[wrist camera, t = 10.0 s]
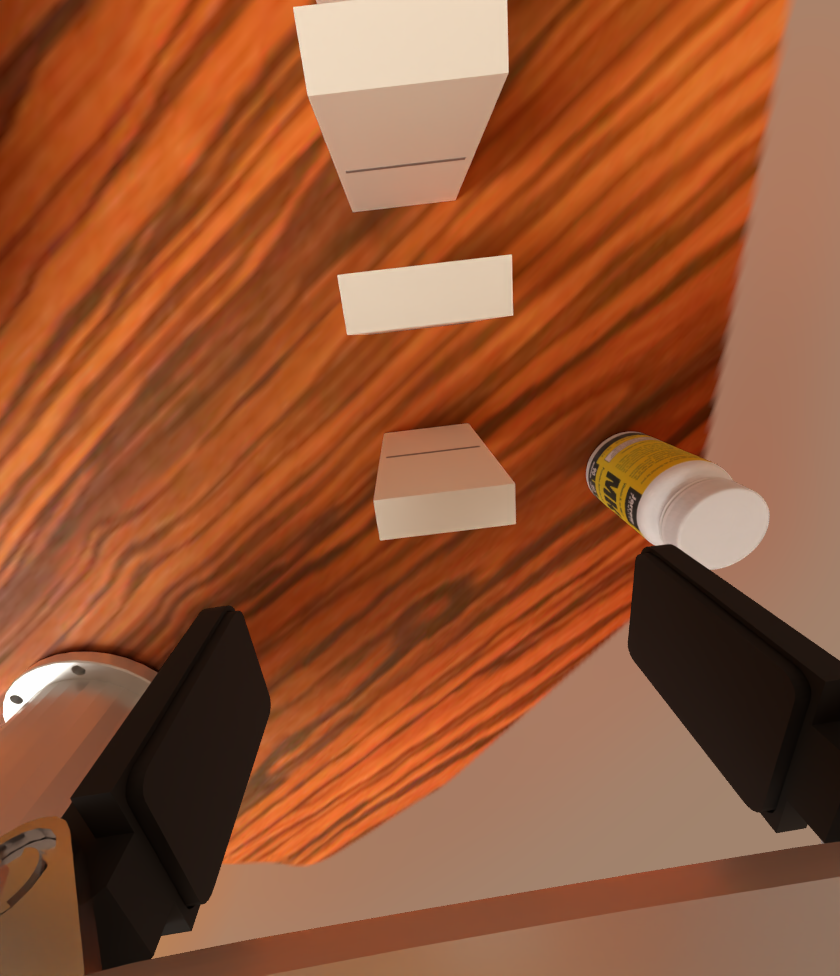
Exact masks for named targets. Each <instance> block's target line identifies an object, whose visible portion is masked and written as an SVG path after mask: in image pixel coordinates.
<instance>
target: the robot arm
mask: <svg viewBox="0 0 840 976" xmlns="http://www.w3.org/2000/svg"><path fill="white" fill-rule="evenodd" d="M628 649H629V652H630V655H631V657H632V659H633V660H634V662H635V663H636V664H637V666H638V667H639V668H640V669H641V671H642V672H643V673H644V674H645V676H646V677H647V678H648V680H649V681H650V682H651V683H652V685H653V686H654V687H655V689H656V690H657V691H658V692H659V694H660V695H661V696H662V698H663V699H664V700H665V701H666V703H667V704H668V705H669V706H670V708H671V709H672V710H673V712H674V713H675V714H676V716H677V717H678V718H679V719H680V721H681V722H682V723H683V724H684V726H685V727H686V728H687V730H688V731H689V732H690V733H691V735H692V736H693V737H694V739H695V740H696V741H697V742H698V744H699V745H700V746H701V748H702V749H703V750H704V751H705V753H706V754H707V755H708V757H709V758H710V759H711V760H712V762H713V763H714V764H715V766H716V767H717V768H718V769H719V771H720V772H721V773H722V775H723V776H724V777H725V778H726V780H727V781H728V782H729V783H730V785H731V786H732V787H733V789H734V790H735V791H736V792H737V794H738V795H739V796H740V798H741V799H742V800H743V801H744V803H745V804H746V805H747V806H748V807H750V809H752V810H753V811H756V812H760V813H761V814H762V816H763V817H764V818H765V820H766V821H767V822H768V823H769V825H770V826H771V827H772V828H773V829H774V831H775V832H776V833H780V832H785V831H792V830H797V829H803V828H806V827H807V824H808V825H809V826H810V827H811V828H812V829H813V831H814V832H815V833H816V834H817V835H818V836H819V838H820V839H821V843H822V844H819V845H812V846H804V847H797V848H790V849H784V850H778V851H772V852H766V853H760V854H754V855H748V856H741V857H735V858H729V859H723V860H716V861H711V862H704V863H698V864H692V865H686V866H680V867H674V868H667V869H661V870H655V871H649V872H642V873H636V874H631V875H624V876H618V877H612V878H606V879H600V880H594V881H589V882H582V883H576V884H571V885H564V886H558V887H553V888H547V889H541V890H535V891H529V892H524V893H517V894H511V895H506V896H499V897H494V898H488V899H482V900H476V901H470V902H464V903H458V904H453V905H447V906H441V907H435V908H429V909H423V910H417V911H411V912H405V913H400V914H394V915H389V916H383V917H377V918H371V919H366V920H360V921H354V922H348V923H343V924H337V925H331V926H326V927H320V928H314V929H308V930H303V931H298V932H292V933H286V934H280V935H274V936H269V937H263V938H258V939H252V940H246V941H241V942H236V943H231V944H226V945H221V946H216V947H211V948H205V949H200V950H195V951H190V952H185V953H180V954H176V955H170V956H165V957H161V958H155V959H151V958H152V957H153V956H154V952H155V950H156V948H157V945H158V943H159V940H160V937H161V936H163V935H169V934H175V933H182V932H188V931H192V928H193V925H194V922H195V919H196V916H197V913H198V910H199V907H200V904H205V903H206V902H207V901H208V900H209V898H210V896H211V894H212V891H213V889H214V886H215V883H216V880H217V876H218V874H219V870H220V867H221V864H222V861H223V858H224V855H225V852H226V849H227V845H228V842H229V839H230V836H231V833H232V830H233V827H234V824H235V821H236V817H237V814H238V811H239V808H240V805H241V802H242V799H243V796H244V792H245V789H246V786H247V783H248V780H249V777H250V774H251V771H252V767H253V764H254V761H255V758H256V755H257V752H258V749H259V746H260V742H261V739H262V736H263V733H264V730H265V727H266V724H267V721H268V717H269V714H270V708H271V702H270V696H269V693H268V690H267V687H266V684H265V680H264V677H263V674H262V671H261V668H260V665H259V662H258V659H257V656H256V653H255V650H254V647H253V644H252V641H251V638H250V635H249V632H248V629H247V625H246V622H245V619H244V616H243V614H242V612H241V611H235V609H234V608H233V607H232V606H222V607H215V608H208V609H204V610H202V611H201V612H200V613H199V615H198V616H197V618H196V619H195V621H194V622H193V623H192V625H191V626H190V628H189V629H188V631H187V632H186V633H185V635H184V636H183V638H182V639H181V641H180V642H179V643H178V645H177V646H176V648H175V649H174V651H173V652H172V653H171V655H170V656H169V658H168V659H167V661H166V662H165V663H164V665H163V666H162V668H161V669H160V670H159V672H156V671H154V670H152V669H151V668H149V667H147V666H145V665H143V664H141V663H138V662H136V661H133V660H131V659H128V658H125V657H121V656H117V655H113V654H108V653H100V652H69V653H63V654H57V655H54V656H51V657H48V658H45V659H43V660H40V661H39V662H37V663H35V664H34V665H32V666H31V667H29V668H28V669H27V670H26V671H25V672H24V673H23V674H21V675H20V676H19V677H18V678H17V679H16V680H15V681H14V682H13V683H12V685H11V686H10V687H9V689H8V690H7V692H6V695H5V698H4V701H3V716H4V719H5V724H4V725H3V726H2V727H1V728H0V976H840V661H839V660H838V659H836V658H835V657H834V656H832V655H831V654H829V653H828V652H826V651H825V650H824V649H822V648H821V647H819V646H818V645H816V644H815V643H814V642H812V641H811V640H809V639H808V638H806V637H805V636H803V635H802V634H801V633H799V632H798V631H796V630H795V629H793V628H792V627H791V626H789V625H788V624H786V623H785V622H783V621H782V620H781V619H779V618H778V617H776V616H775V615H773V614H772V613H771V612H769V611H768V610H766V609H765V608H763V607H762V606H761V605H759V604H758V603H756V602H755V601H753V600H752V599H751V598H749V597H748V596H746V595H745V594H743V593H742V592H740V591H739V590H737V589H736V588H735V587H733V586H732V585H731V584H729V583H728V582H726V581H725V580H723V579H722V578H720V577H719V576H718V575H716V574H715V573H713V572H712V571H710V570H709V569H708V568H706V567H705V566H703V565H702V564H700V563H699V562H698V561H696V560H695V559H693V558H692V557H690V556H689V555H688V554H686V553H685V552H683V551H682V550H680V549H679V548H678V547H676V546H674V545H672V544H665V545H658V546H651V547H646V548H644V549H643V550H642V552H641V554H639V555H637V557H636V560H635V571H634V582H633V593H632V603H631V614H630V625H629V636H628Z"/></svg>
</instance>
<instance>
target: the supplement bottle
mask: <svg viewBox="0 0 840 976" xmlns="http://www.w3.org/2000/svg"><path fill="white" fill-rule="evenodd" d="M586 480H587V484H588V486H589V488H590V490H591V492H592V493H593V494H594V495H595V496H596V497H597V498H598V499H599V500H600V501H601V502H603V503H604V504H605V505H606V506H607V507H608V508H610V509H611V510H612V511H613V512H614V513H616V514H617V515H618V516H619V517H620V518H622V519H623V520H624V521H625V522H626V523H627V524H629V525H630V526H631V527H632V528H633V529H634V530H636V531H637V532H638V533H639V534H640V535H642V536H643V537H644V538H645V539H646V540H648V541H649V542H650V543H652V544H653V545H655V546H658V545H665V544H672V545H674V546H676V547H678V548H679V549H680V550H682V551H683V552H685V553H686V554H688V555H689V556H690V557H692V558H693V559H695V560H696V561H698V562H699V563H700V564H702V565H703V566H705V567H706V568H708V569H709V570H711V569H719V568H724V567H727V566H730V565H732V564H734V563H736V562H738V561H740V560H742V559H743V558H744V557H746V556H747V555H748V554H750V553H751V552H752V551H753V550H754V549H755V548H756V547H757V546H758V544H759V543H760V542H761V540H762V539H763V537H764V535H765V533H766V531H767V528H768V524H769V509H768V506H767V503H766V502H765V500H764V499H763V498H762V496H761V495H759V494H758V493H757V492H755V491H753V490H751V489H749V488H747V487H745V486H743V485H741V484H738V483H737V482H735V481H733V479H732V478H731V476H730V475H729V474H728V473H727V472H726V471H725V470H724V469H723V468H722V467H720V466H719V465H717V464H715V463H713V462H711V461H708V460H706V459H703V458H701V457H698V456H696V455H694V454H691V453H689V452H686V451H684V450H682V449H679V448H677V447H674V446H672V445H670V444H667V443H665V442H663V441H660V440H658V439H656V438H654V437H651V436H649V435H646V434H644V433H640V432H633V431H629V432H622V433H619V434H616V435H613V436H611V437H610V438H608V439H606V440H605V441H604V442H602V443H601V444H600V445H599V446H598V447H597V448H596V449H595V451H594V452H593V453H592V455H591V457H590V459H589V461H588V464H587V469H586Z"/></svg>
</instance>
